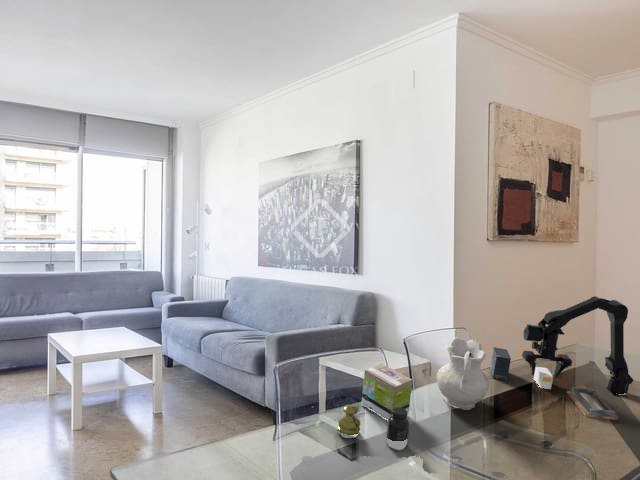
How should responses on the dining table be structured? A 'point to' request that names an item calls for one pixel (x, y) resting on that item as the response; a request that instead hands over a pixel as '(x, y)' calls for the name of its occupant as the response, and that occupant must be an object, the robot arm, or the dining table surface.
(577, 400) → the rail mount
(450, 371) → the ceramic pitcher
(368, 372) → the tea box
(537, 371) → the block
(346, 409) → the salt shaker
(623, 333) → the robot arm
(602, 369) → the dining table surface
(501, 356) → the small box
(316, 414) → the dining table surface
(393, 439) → the supplement bottle
